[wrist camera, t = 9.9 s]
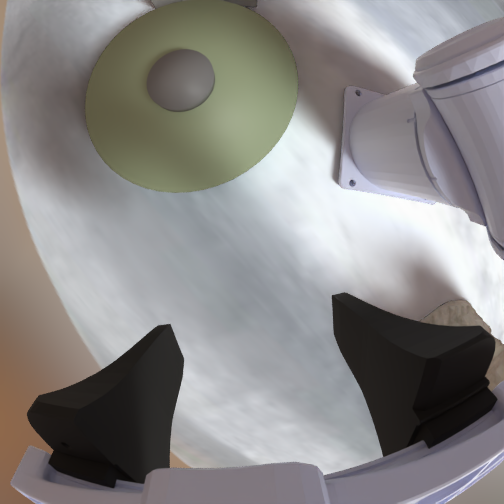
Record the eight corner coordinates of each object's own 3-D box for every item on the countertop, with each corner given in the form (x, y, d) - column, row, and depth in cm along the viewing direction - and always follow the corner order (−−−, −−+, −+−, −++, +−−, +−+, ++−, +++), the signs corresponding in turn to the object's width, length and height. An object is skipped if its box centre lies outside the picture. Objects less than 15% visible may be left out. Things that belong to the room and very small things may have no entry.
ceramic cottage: (364, 345, 23) (442, 469, 9) (479, 277, 23) (567, 343, 9) (372, 418, 29) (413, 503, 15) (464, 362, 28) (517, 425, 14)
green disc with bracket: (296, -55, 12) (303, -78, 8) (282, 195, 19) (292, 201, 15) (150, -52, 11) (140, -74, 7) (98, 188, 18) (71, 194, 14)
